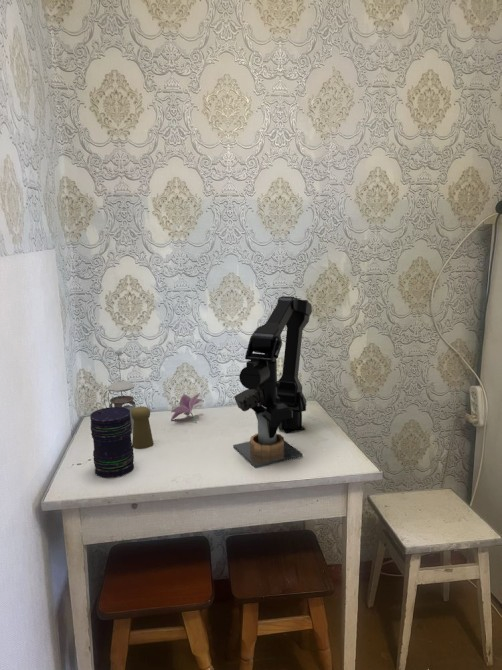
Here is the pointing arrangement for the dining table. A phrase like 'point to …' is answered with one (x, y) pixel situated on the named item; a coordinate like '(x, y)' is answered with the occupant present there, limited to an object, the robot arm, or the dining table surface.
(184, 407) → the lily
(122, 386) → the french press
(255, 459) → the duct collar
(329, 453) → the dining table surface
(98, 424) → the storage jar
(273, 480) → the dining table surface
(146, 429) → the cork
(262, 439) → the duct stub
